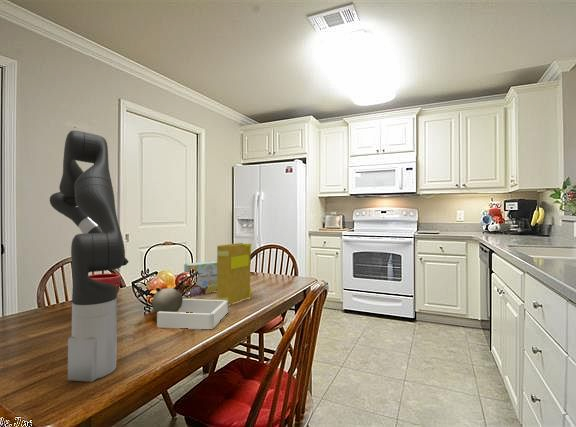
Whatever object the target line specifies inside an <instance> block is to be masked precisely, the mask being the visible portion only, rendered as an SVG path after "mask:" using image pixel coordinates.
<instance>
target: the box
mask: <svg viewBox="0 0 576 427" xmlns="http://www.w3.org/2000/svg"><path fill="white" fill-rule="evenodd" d="M182 299H183V301H182V305H181V308H179V309H178V311H177V312H162V311H159V312H157V313H156V314H157V315H156V319H157V322H156V327H157V328H160V329H161V328H163V329H164V328H165V329H180V328H188V329H187V330H201V329H213V328H214V327H215V326H216V325H217V324H218V323H219V322H220V320H221V319H222V318H223V317H224V316H225V315H226V314H227V313H228V314H229V307H228V300H217V299H203V298H202V299H201V298H200V299H199V298H182ZM186 312H189V313H186ZM190 312H193V313H190ZM228 314H227V315H228ZM227 315H226V316H227ZM226 316H225V317H226ZM225 317H224V318H225ZM224 318H223V319H224ZM223 319H222V320H223ZM222 320H221V321H222ZM220 323H221V322H220ZM220 323H219V324H220ZM219 324H218V325H219ZM218 325H217V326H218ZM217 326H216V327H217ZM216 327H215V328H216ZM215 328H214V329H215ZM214 329H213V330H214Z"/></svg>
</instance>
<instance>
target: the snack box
mask: <svg viewBox="0 0 576 427" xmlns="http://www.w3.org/2000/svg"><path fill="white" fill-rule="evenodd" d="M183 266H184V267H183V270H184V271H183V274H184V273H185V272H190V270H191V269H193V270H194V271H195V272H196V271H198V273H199V274H198V277H197V282H196V284H195V285H194V286H193V288H192V289H191V291H190V294H189V296H192V297H196V295H198V296H202V295H201V294H204V295H206V294H205V293H210V292H214V291H217V260H212V261H199V262H190V263H184V265H183ZM210 294H211V293H210Z"/></svg>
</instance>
